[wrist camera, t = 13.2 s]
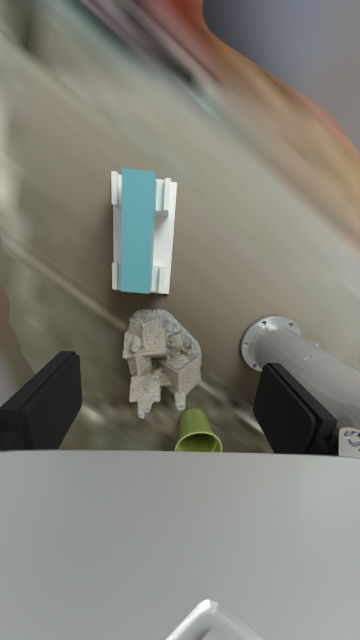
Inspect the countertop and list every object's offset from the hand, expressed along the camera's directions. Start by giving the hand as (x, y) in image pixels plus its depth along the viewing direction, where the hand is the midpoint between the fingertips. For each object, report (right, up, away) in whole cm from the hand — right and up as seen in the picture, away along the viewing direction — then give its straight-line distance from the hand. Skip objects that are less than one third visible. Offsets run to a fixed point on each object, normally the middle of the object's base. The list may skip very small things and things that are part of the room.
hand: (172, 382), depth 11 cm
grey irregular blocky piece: (-3, -2, +33) cm, 33 cm away
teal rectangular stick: (-6, +16, +21) cm, 27 cm away
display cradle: (-6, +17, +26) cm, 32 cm away
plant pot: (+4, -20, +39) cm, 44 cm away
